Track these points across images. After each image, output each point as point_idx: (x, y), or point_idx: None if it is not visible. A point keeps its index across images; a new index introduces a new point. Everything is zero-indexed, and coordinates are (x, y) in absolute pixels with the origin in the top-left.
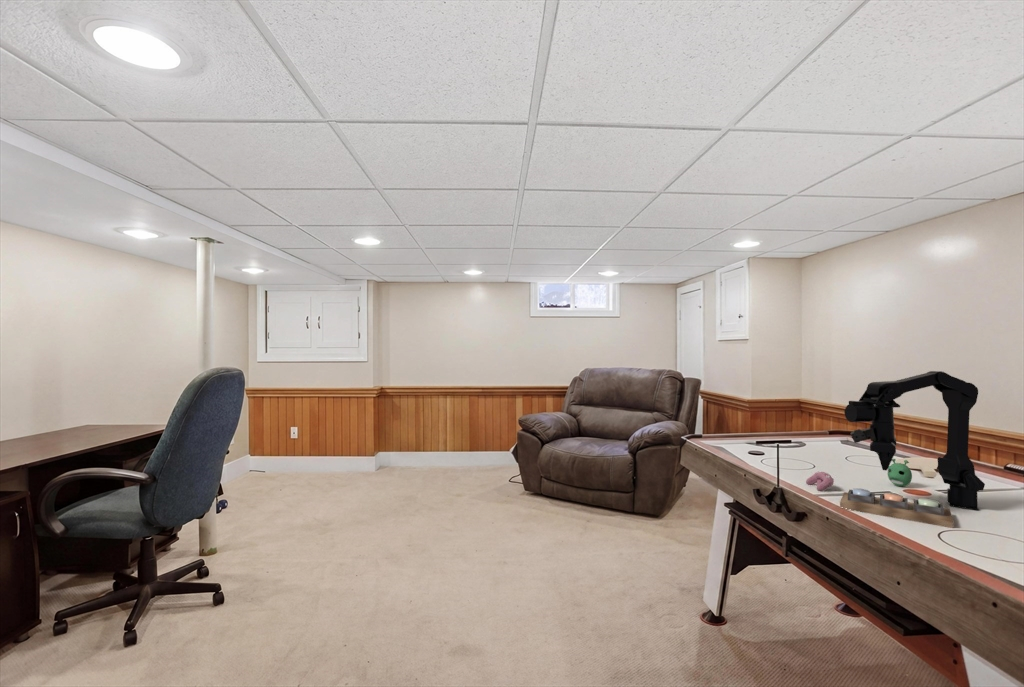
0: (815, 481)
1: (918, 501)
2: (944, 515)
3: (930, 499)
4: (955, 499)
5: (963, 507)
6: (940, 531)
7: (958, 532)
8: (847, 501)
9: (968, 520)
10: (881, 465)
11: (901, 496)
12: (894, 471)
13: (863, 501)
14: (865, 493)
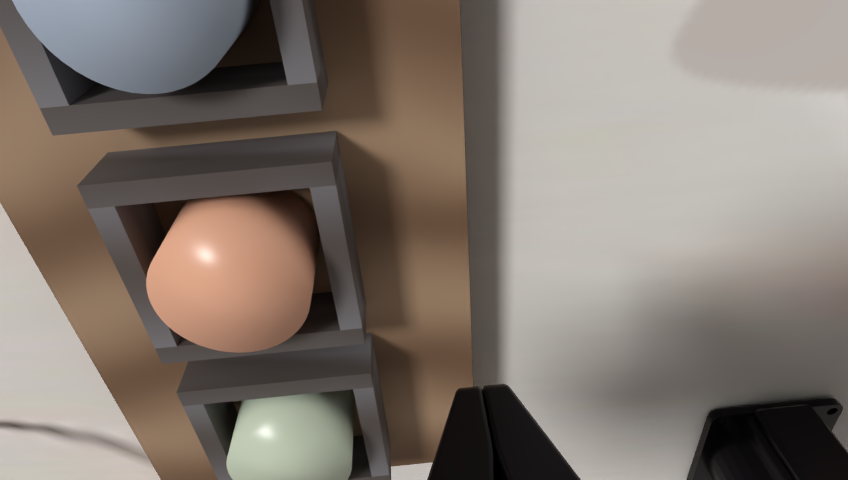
0: None
1: (278, 411)
2: None
3: (343, 471)
4: (749, 460)
5: (697, 450)
6: (28, 423)
7: (111, 467)
8: None
9: (426, 472)
10: (436, 458)
11: (248, 344)
12: None
13: None
14: (58, 49)
